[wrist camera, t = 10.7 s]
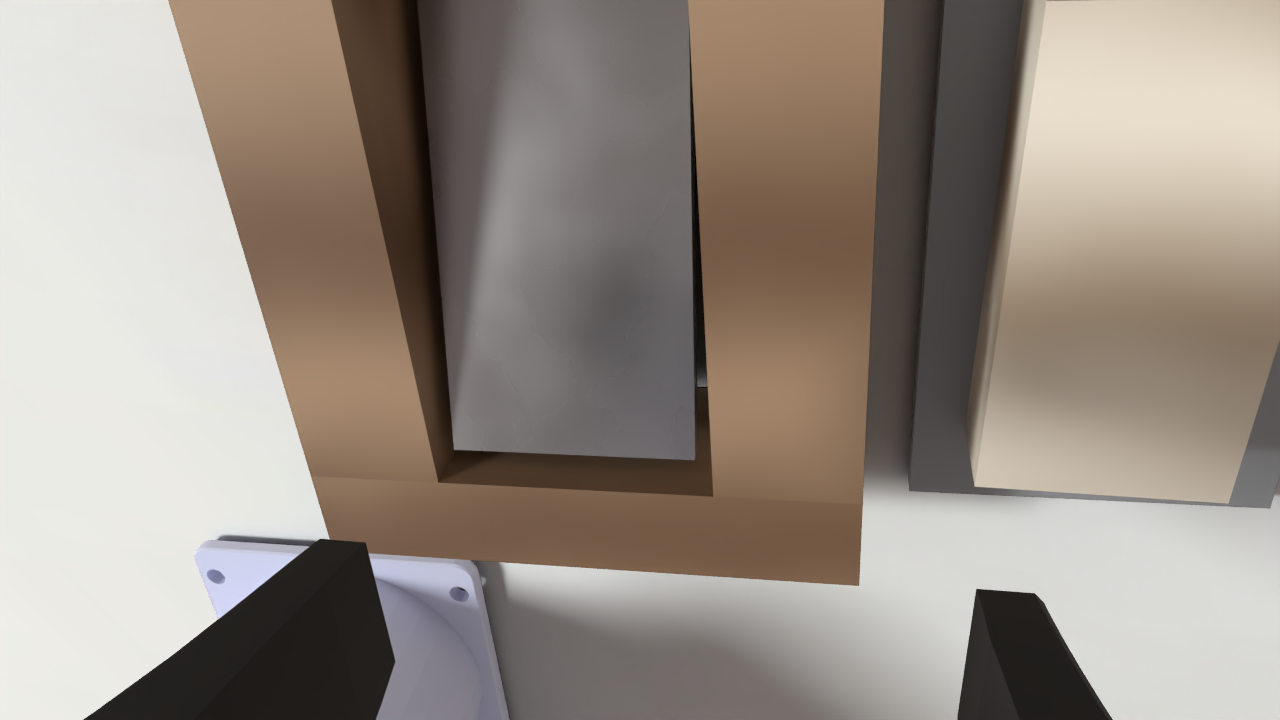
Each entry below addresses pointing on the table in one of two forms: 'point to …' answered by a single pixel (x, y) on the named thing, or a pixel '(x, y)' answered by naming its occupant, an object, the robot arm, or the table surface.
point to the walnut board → (412, 305)
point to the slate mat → (958, 256)
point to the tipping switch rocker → (565, 223)
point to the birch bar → (1132, 251)
